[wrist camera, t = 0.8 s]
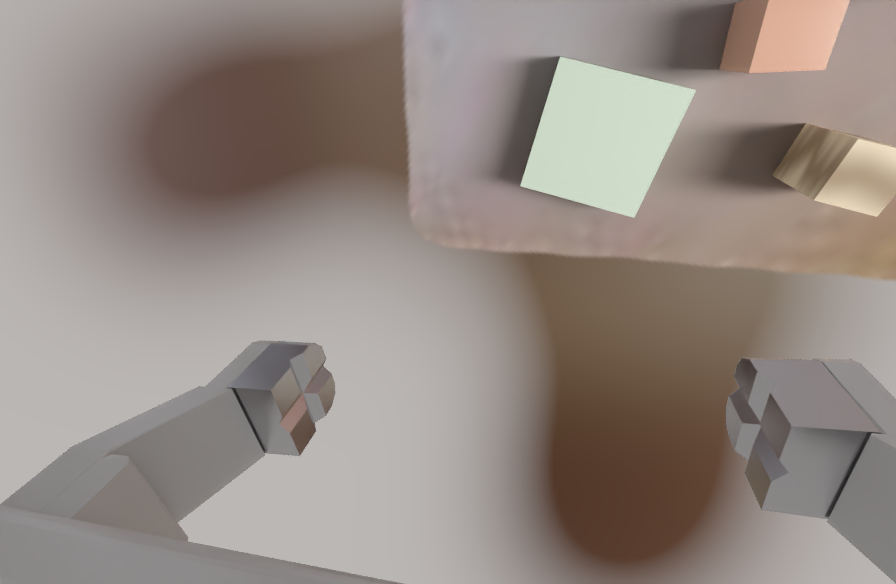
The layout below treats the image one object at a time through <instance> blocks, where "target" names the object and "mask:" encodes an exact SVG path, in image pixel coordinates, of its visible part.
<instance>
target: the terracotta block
mask: <svg viewBox="0 0 896 584" xmlns="http://www.w3.org/2000/svg"><path fill="white" fill-rule="evenodd" d="M849 1H850V0H745V1H742V2H738V3H735V7H734V11H733V15H732V19H731V23H730V27H729V32H728V36H727V40H726V44H725V48H724V52H723V56H722V61H721V65H720V69H719V70H727V71H735V72H743V73H764V72H786V71H808V70H825V69H826V66H827V63H828V60H829V57H830V54H831V52H832V49H833V46H834V43H835V40H836V37H837V35H838V32H839V29H840V26H841V23H842V20H843V18H844V15H845V12H846V9H847V6H848V4H849Z"/></svg>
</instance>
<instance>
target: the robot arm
mask: <svg viewBox="0 0 896 584" xmlns="http://www.w3.org/2000/svg"><path fill="white" fill-rule="evenodd" d="M325 360H326V356H325V354H324V351H323V349H322V346H320V345H318V344H316V343H302V342H285V341H257V342H253V343H251V344H250V345H249V346H248V348H246V349H245V350H244V351H243V352H242V353H241V354H240V355H239V356H238V357H237V358H235V359H234V360H233V361H232V362H231V363H230V364H229V365H228V366H227V367H226V368H225V369H224V370H223V371H222V372H220V373H219V374H218V375H217V376H216V377H215V378H214V379H213V380H212V381H211V382H210V383H209V384H208V385H206V386H205V387H201V386H199V387H197V388H195V389H193V390H191V391H189V392H186V393H184V394H182V395H180V396H178V397H176V398H174V399H172V400H169V401H167V402H165V403H163V404H161V405H159V406H157V407H155V408H152V409H150V410H148V411H146V412H144V413H142V414H140V415H138V416H136V417H133V418H132V419H129V420H127V421H125V422H123V423H121V424H119V425H117V426H114V427H112V428H110V429H108V430H106V431H104V432H102V433H100V434H97V435H95V436H93V437H91V438H89V439H87V440H85V441H83V442H81V443H78V444H76V445H74V446H72V447H71V448H69V449H68V450H67V451H66V452H65V453H63V454H62V455H61V456H60V457H58V458H57V459H56V460H55V461H54V462H52V463H51V464H50V465H48V466H47V467H46V468H45V469H43V470H42V471H41V472H40V473H39V474H37V475H36V476H35V477H34V478H32V479H31V480H30V481H29V482H27V483H26V484H25V485H24V486H22V487H21V488H20V489H19V490H17V491H16V492H15V493H14V494H13V495H11V496H10V497H9V498H8V499H7V500H5V501H4V502H3V503H1V504H0V584H402V583H397V582H392V581H387V580H382V579H377V578H372V577H367V576H361V575H356V574H351V573H346V572H341V571H336V570H331V569H325V568H320V567H315V566H310V565H305V564H300V563H295V562H290V561H285V560H279V559H274V558H269V557H264V556H259V555H253V554H249V553H244V552H238V551H233V550H228V549H223V548H218V547H213V546H208V545H203V544H198V543H192V542H188V537H187V535H186V534H185V532H184V531H183V530H182V528H181V527H180V526H179V524H178V522H179V521H180V520H182V519H183V518H184V517H186V516H187V515H188V514H189V513H191V512H192V511H193V510H195V509H196V508H197V507H199V506H200V505H201V504H202V503H204V502H205V501H206V500H207V499H209V498H210V497H211V496H213V495H214V494H215V493H217V492H218V491H219V490H221V489H222V488H223V487H224V486H225V485H227V484H228V483H230V482H231V481H232V480H233V479H235V478H236V477H237V476H239V475H240V474H241V473H243V472H244V471H245V470H246V469H248V468H249V467H250V466H251V465H253V464H254V463H255V462H257V461H258V460H259V459H261V458H262V457H263V456H264V455H265V454H264V453H270V454H282V455H294V456H300V455H301V453H302V452H303V450H304V449H305V447H306V446H307V444H308V443H309V441H310V439H311V438H312V437H313V435H314V433H315V432H316V428H315V422H317V421H318V420H320V419H321V418H323V417H324V416H326V415H327V413H328V411H329V410H330V408H331V406H332V403H333V400H334V396H335V383H334V379H333V376H332V374H331V373H330V372H329V371H328V370H327V369H326V368H324V366H323V364H324V363H325ZM734 377H735V379H736V381H737V383H738V385H739V387H740V388H739V389H738V390H736V391H735V392H734V393H732V394H731V395H729V398H728V403H727V408H726V423H727V429H728V433H729V437H730V440H731V442H732V445H733V447H734V449H735V451H736V452H738V453H739V454H740V455H742V456H743V457H744V458H745V459H747V460H748V464H747V467H746V470H745V475H746V477H747V479H748V481H749V483H750V486H751V488H752V490H753V492H754V494H755V497H756V499H757V501H758V503H759V505H760V508H761V510H767V511H774V512H781V513H788V514H795V515H803V516H809V517H817V518H824V519H828V521H827V522H828V523H829V524H830V525H831V526H832V527H834V528H835V529H836V530H837V531H838V532H839V533H840V534H841V535H842V536H844V537H845V538H846V539H847V540H848V541H849V542H850V543H851V544H852V545H854V546H855V547H856V548H857V549H858V550H859V551H860V552H862V554H864V555H865V556H866V557H867V558H868V559H869V560H870V561H871V562H873V563H874V564H875V565H876V566H877V567H878V568H879V569H880V570H881V571H883V572H884V573H885V574H886V575H887V576H888V577H889V578H891V579H892V580H893V581H894V582H895V583H896V399H895V398H894V397H893V396H892V395H891V394H890V393H889V392H888V391H887V390H886V389H885V388H884V387H883V386H882V384H881V383H880V382H879V381H878V380H877V379H876V378H875V377H874V376H873V375H872V374H871V373H870V372H869V371H868V370H867V369H866V368H865V367H864V366H863V365H862V364H860V363H859V362H856V361H854V360H852V359H812V360H802V359H768V358H741V360H740V361H739V362H738V364H737V367H736V370H735V374H734Z"/></svg>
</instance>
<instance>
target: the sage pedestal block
mask: <svg viewBox="0 0 896 584" xmlns="http://www.w3.org/2000/svg"><path fill="white" fill-rule="evenodd" d="M695 91H696V90H694V89H690V88H687V87H683V86H679V85H675V84H671V83H667V82H663V81H659V80H655V79H651V78H647V77H643V76H639V75H635V74H631V73H626V72H622V71H618V70H614V69H610V68H606V67H602V66H598V65H594V64H590V63H586V62H582V61H578V60H574V59H570V58H565V57H561V56H560V58H559V61H558V64H557V68H556V71H555V74H554V77H553V81H552V84H551V87H550V90H549V94H548V97H547V100H546V103H545V107H544V110H543V113H542V116H541V120H540V123H539V126H538V129H537V133H536V136H535V139H534V142H533V146H532V149H531V152H530V155H529V159H528V162H527V165H526V168H525V172H524V175H523V178H522V182H521V185H520V186H521V187H525V188H529V189H532V190H536V191H540V192H543V193H547V194H550V195H554V196H558V197H561V198H565V199H568V200H572V201H576V202H579V203H583V204H586V205H590V206H594V207H597V208H601V209H605V210H608V211H612V212H615V213H619V214H623V215H626V216H630V217H633V218H634V217H635V215H636V213H637V211H638V209H639V207H640V205H641V203H642V201H643V199H644V197H645V194H646V192H647V190H648V188H649V186H650V184H651V182H652V180H653V178H654V176H655V174H656V172H657V170H658V168H659V166H660V163H661V161H662V159H663V157H664V155H665V153H666V151H667V149H668V147H669V145H670V143H671V141H672V139H673V137H674V135H675V133H676V130H677V128H678V126H679V124H680V122H681V120H682V118H683V116H684V114H685V112H686V110H687V108H688V106H689V104H690V102H691V99H692V97H693V95H694V93H695Z"/></svg>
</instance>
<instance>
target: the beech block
mask: <svg viewBox="0 0 896 584" xmlns="http://www.w3.org/2000/svg"><path fill="white" fill-rule="evenodd" d="M772 176H774V177H775V178H777V179H779V180H781V181H782V182H784V183H786V184H787V185H789V186H791V187H792V188H794V189H796V190H797V191H799V192H801V193H803V194H804V195H806V196H808V197H809V198H811V199H813V200H815V201H819V202H823V203H826V204H830V205H834V206H838V207H842V208H845V209H849V210H853V211H857V212H861V213H865V214H868V215H872V216H876V217H877V216H878V215H879V214H880V212H881V211H882V210H883V209H884V208H885V206H886V205H887V204H888V203H889V202H890V200H891V199H892V198H893V197H894V196H895V194H896V147H895V146H891V145H888V144H884V143H881V142H878V141H874V140H871V139H867V138H864V137H860V136H856V135H852V134H848V133H844V132H840V131H836V130H831V129H827V128H823V127H819V126H815V125H811V124H807V123H806V124H805V125H804V127H803V128H802V130H801V131H800V133H799V134H798V136H797V138H796V139H795V141H794V142H793V144H792V145H791V147H790V148H789V150H788V152H787V153H786V155H785V156H784V158H783V159H782V161H781V162H780V164H779V166H778V167H777V169H776V170H775V172H774V173H773V175H772Z"/></svg>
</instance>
